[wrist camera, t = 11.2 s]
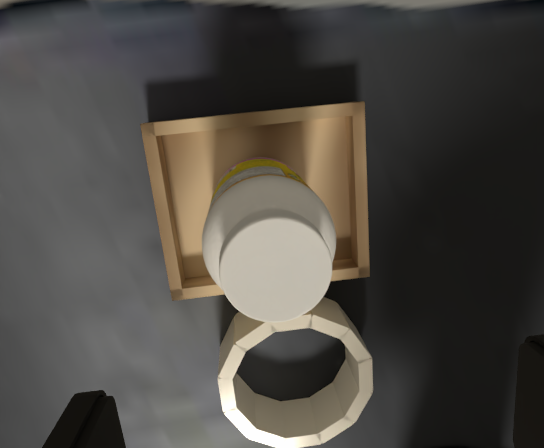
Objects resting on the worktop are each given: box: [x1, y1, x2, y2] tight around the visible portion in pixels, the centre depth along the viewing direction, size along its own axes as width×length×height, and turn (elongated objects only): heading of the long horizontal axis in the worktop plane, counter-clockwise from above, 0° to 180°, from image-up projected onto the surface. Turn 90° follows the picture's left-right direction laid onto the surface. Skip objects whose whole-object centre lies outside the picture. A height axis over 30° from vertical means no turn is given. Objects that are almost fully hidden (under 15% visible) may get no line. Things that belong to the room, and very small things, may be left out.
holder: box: [218, 297, 373, 448], centre depth 31 cm, size 11×11×4 cm
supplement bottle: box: [202, 157, 336, 323], centre depth 23 cm, size 7×7×13 cm
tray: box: [140, 101, 370, 301], centre depth 28 cm, size 14×12×2 cm
